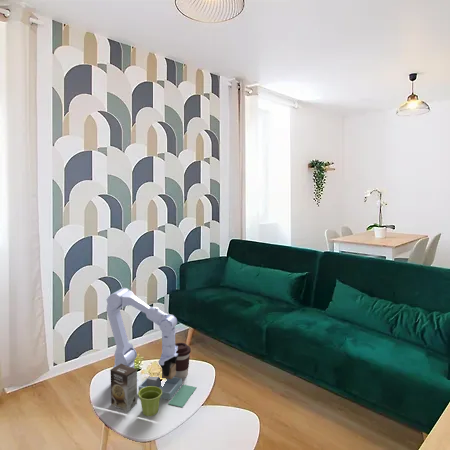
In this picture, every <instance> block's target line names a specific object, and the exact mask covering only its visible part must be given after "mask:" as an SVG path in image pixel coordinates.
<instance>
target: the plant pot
mask: <svg viewBox="0 0 450 450" xmlns="http://www.w3.org/2000/svg"><path fill="white" fill-rule="evenodd" d="M161 395H162V390H161V389H160V388H159V387H156V386H148V387H144V388H142V389H141V390H140V391H139V390H138V392H137V397H138V398H139V400H140V404H141V410H142V412H141V413H142V415H144V416H146V417H153V416H156V414H158V412H159V408H160V407H159V406H160V400H161V398H160V397H161Z"/></svg>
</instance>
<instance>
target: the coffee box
mask: <svg viewBox="0 0 450 450" xmlns="http://www.w3.org/2000/svg"><path fill="white" fill-rule="evenodd" d="M113 367H114V366H113ZM113 367H112V368H111V369H110V370H109V371H110V401H111V402H110V403H111V406H113V407H115V408H118V409H121V410H123V411H126V412H129V411H131V409H133V408H134V407H135V406H137V405H138V381H137V379H138V369H137V368H136V367H134V368H132V367H129V366H127V365H124V364H119V365H118V366H116V367H114V368H113Z"/></svg>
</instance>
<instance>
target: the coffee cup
mask: <svg viewBox="0 0 450 450" xmlns="http://www.w3.org/2000/svg"><path fill="white" fill-rule="evenodd" d="M175 346H178V351H176V353H178V354H179V356H178V358H177V360H176V363H175V364H176V375H175V376H174V377H177V378H182V379H185V378H186V377H188V375H189V367H190V355H191V350H192V348H191V347H190V346H189V345H188V344H187V343H186V342H175Z"/></svg>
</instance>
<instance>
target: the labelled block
mask: <svg viewBox="0 0 450 450" xmlns="http://www.w3.org/2000/svg"><path fill="white" fill-rule="evenodd" d="M161 374H162V378H166V379H172V378H173V377H174V376H175V375H176V364H175V363H171V366H170V371H169V376H164V374H163V371H162V370H161Z"/></svg>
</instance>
